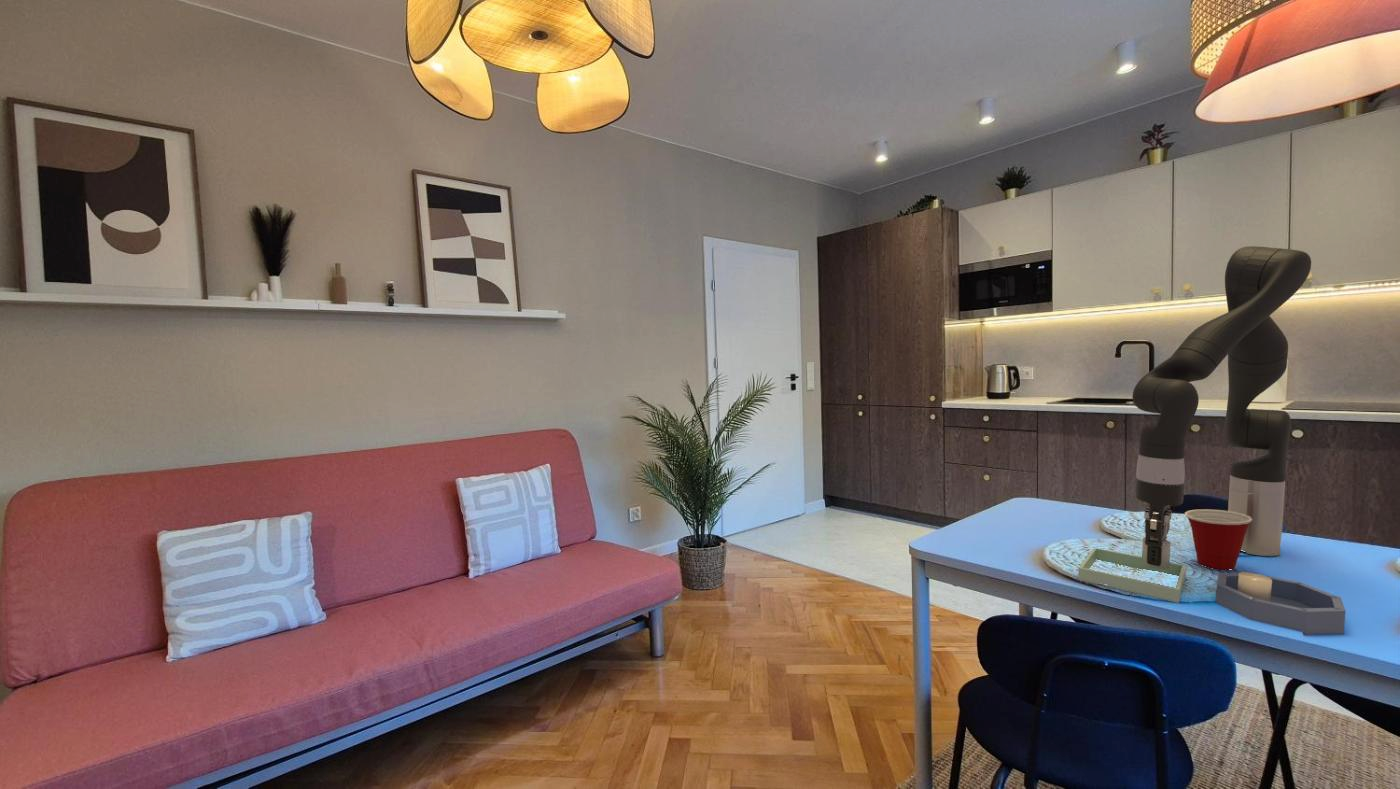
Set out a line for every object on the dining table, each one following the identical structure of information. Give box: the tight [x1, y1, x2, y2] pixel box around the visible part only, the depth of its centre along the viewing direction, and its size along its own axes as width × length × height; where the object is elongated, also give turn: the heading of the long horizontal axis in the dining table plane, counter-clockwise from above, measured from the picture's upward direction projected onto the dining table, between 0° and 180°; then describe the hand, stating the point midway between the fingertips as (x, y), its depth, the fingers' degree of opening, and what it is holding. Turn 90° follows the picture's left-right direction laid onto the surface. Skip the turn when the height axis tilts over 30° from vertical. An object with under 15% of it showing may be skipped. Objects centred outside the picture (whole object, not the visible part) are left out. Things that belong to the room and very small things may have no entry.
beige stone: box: [1238, 571, 1272, 602], centre depth 105 cm, size 4×4×5 cm
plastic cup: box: [1184, 508, 1252, 571], centre depth 124 cm, size 11×11×12 cm
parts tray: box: [1077, 547, 1187, 604], centre depth 118 cm, size 16×16×3 cm
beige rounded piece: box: [1141, 537, 1171, 569], centre depth 116 cm, size 4×4×5 cm
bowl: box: [1215, 572, 1347, 636], centre depth 104 cm, size 16×16×4 cm
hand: (1155, 560), depth 116 cm, fingers closed on beige rounded piece, 4 cm apart
